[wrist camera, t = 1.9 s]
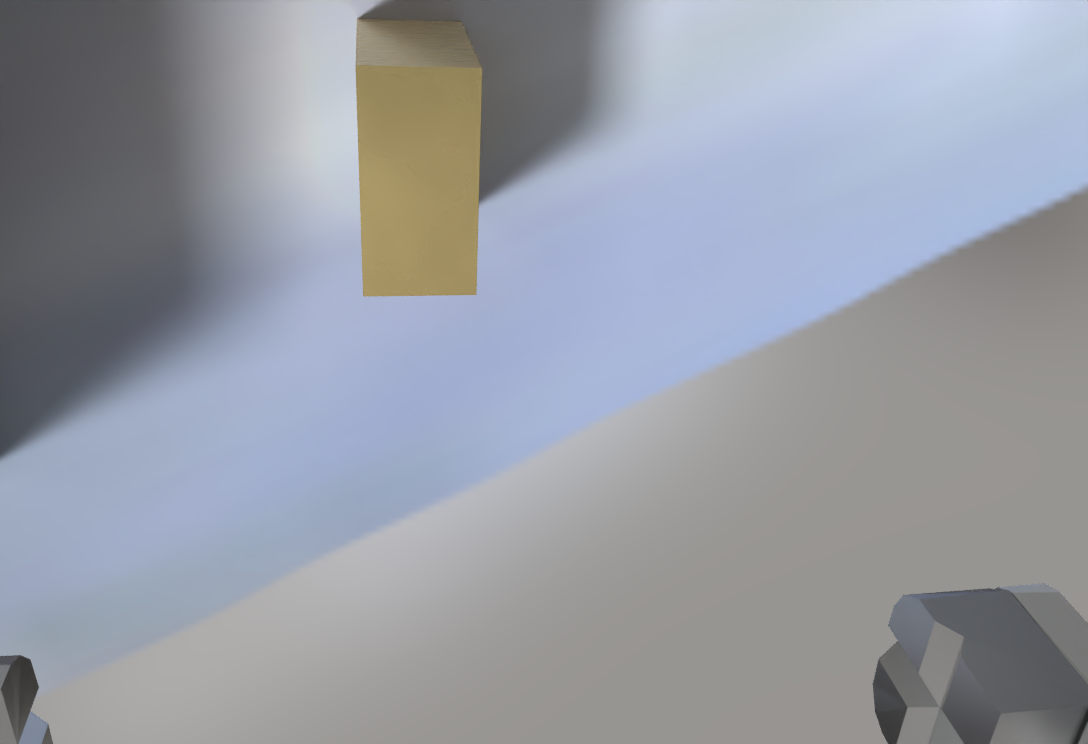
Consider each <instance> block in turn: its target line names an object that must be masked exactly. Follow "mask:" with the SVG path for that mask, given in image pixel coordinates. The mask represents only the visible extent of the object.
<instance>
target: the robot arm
mask: <svg viewBox="0 0 1088 744" xmlns="http://www.w3.org/2000/svg"><path fill="white" fill-rule="evenodd" d="M888 626H889V627H890V629H891V631H892V632H893V634H894V636H895V637H896V639H897V640H898V641H897V642H896V643H895V644H894V645H893V646H892V647H891V648H890V649H889V650H887V651H886V653H884V654H883V655H882V656H881V657H880V658H879V660H878V664H877V668H876V672H875V677H874V681H873V693H874V704H875V713H876V716H877V719H878V722H879V725H880V728H881V731H882V733H883V735H884V737H885V739H886V741H887V743H888V744H1088V623H1087V622H1086V621H1085V620H1084V619H1083V617H1082V616H1081V615H1080V614H1079V613H1078V612H1077V611H1076V610H1075V609H1074V607H1073V606H1072V605H1071V604H1070V603H1069V602H1068V601H1067V600H1066V599H1065V597H1064V596H1063V595H1062V594H1061V593H1060V592H1059V591H1057V590H1056V589H1054V588H1052V587H1050V586H1048V585H1046V584H1044V583H1043V584H1032V585H1019V586H1007V587H998V588H995V589H989V588H988V589H975V590H963V591H949V592H936V593H923V594H910V595H903V596H902V598H901V599H900V600H899V601H898V602H897V603H896V604H895V606H894V608H893V611H892V615H891V618H890V621H889V625H888ZM38 688H39V686H38V683H37V679H36V676H35V673H34V669H33V666H32V663H31V660H30V659H28V658H26V657H24V656H21V655H13V656H0V744H53V742H52V737H51V734H50V729H49V725H48V723H46V722H45V721H44V720H42V719H41V718H40V717H38V716H37V715H35V714H34V713H32V712H31V711H30V710H31V708H32V705H33V702H34V699H35V697H36V694H37V691H38Z"/></svg>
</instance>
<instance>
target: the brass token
mask: <svg viewBox="0 0 1088 744" xmlns="http://www.w3.org/2000/svg"><path fill="white" fill-rule="evenodd" d="M356 90H357V121H358V151H359V181H360V211H361V242H362V272H363V296H427V295H476V286H477V248H478V210H479V172H480V135H481V97H482V66H481V64H480V62H479V60H478V57H477V55H476V53H475V51H474V48H473V46H472V44H471V42H470V40H469V37H468V35H467V33H466V31H465V28H464V26H463V24H462V22H452V21H419V20H387V19H357V37H356Z"/></svg>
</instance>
